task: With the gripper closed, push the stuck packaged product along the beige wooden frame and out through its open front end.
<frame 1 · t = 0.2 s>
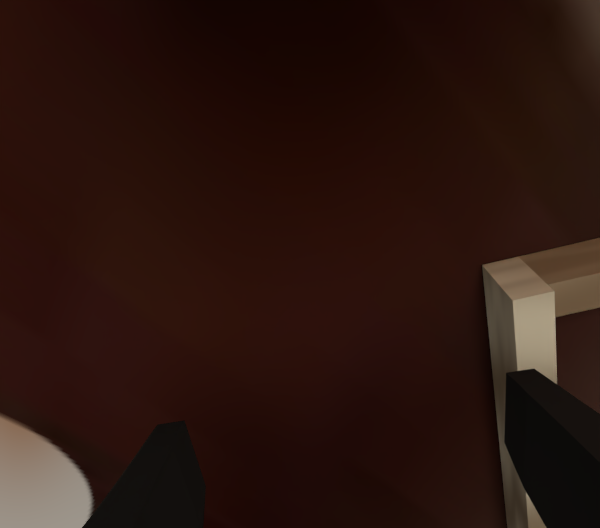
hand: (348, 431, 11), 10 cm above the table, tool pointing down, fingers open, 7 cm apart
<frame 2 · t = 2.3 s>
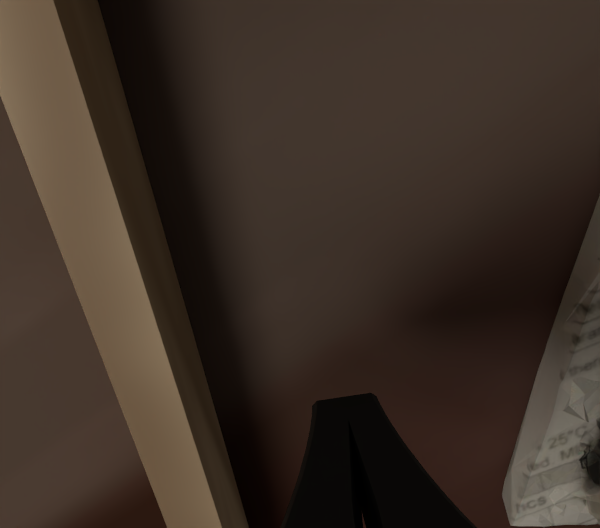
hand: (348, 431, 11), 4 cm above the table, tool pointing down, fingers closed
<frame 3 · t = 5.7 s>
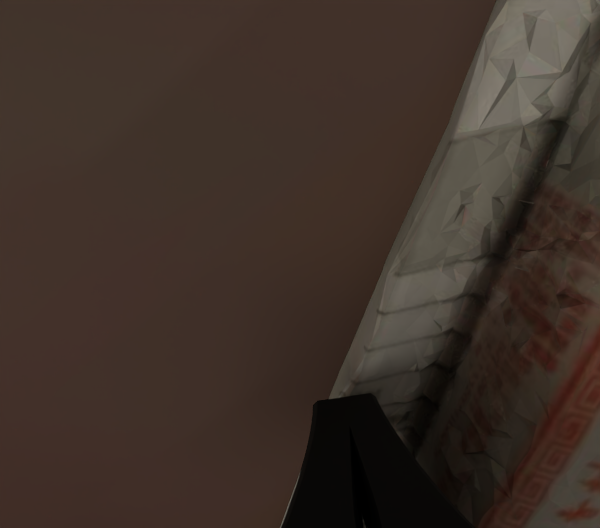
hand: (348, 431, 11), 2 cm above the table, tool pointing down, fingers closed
packaged product: (513, 378, 14), on the table
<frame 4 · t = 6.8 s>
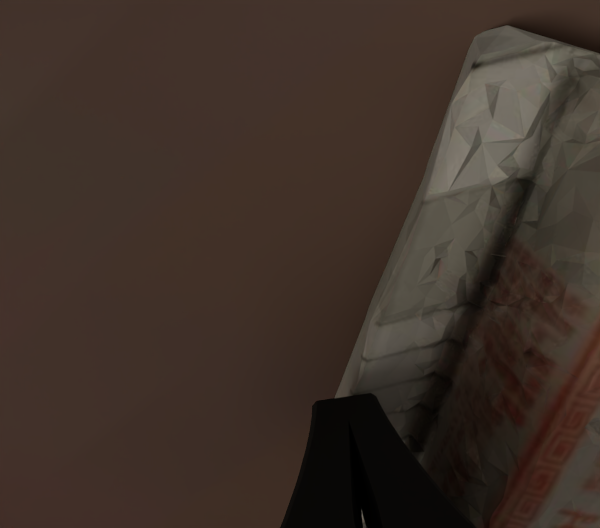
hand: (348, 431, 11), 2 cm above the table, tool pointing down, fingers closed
packaged product: (500, 409, 14), on the table
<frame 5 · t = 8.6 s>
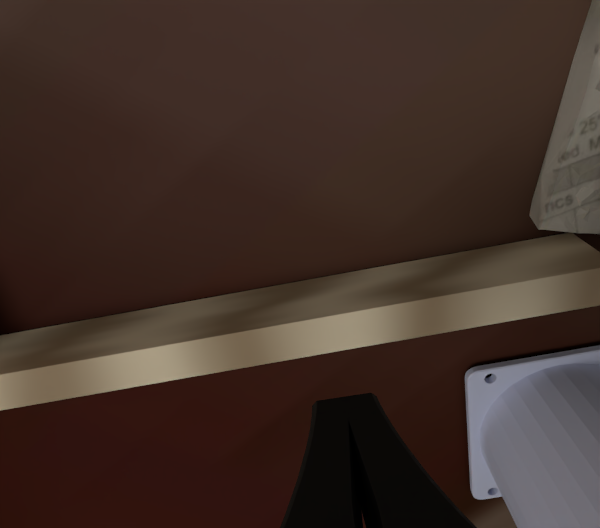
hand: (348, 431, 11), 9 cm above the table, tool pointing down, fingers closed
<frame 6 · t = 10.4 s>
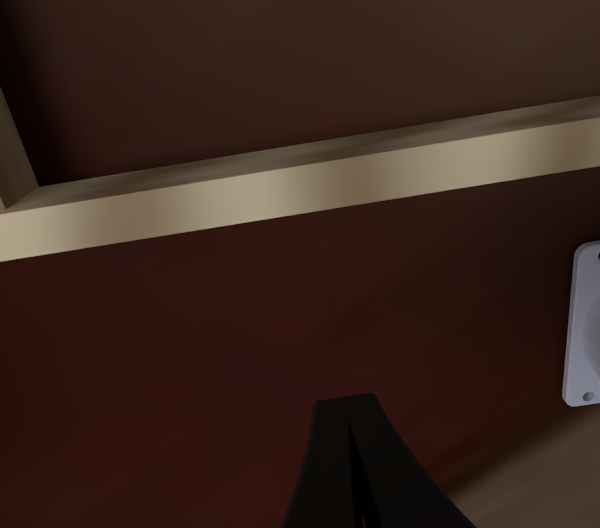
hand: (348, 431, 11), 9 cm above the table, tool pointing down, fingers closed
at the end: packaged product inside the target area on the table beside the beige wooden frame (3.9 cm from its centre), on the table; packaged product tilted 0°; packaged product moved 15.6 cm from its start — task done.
